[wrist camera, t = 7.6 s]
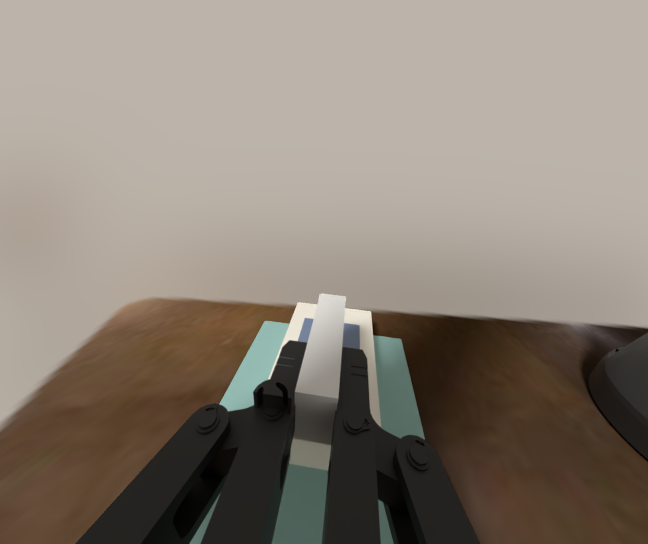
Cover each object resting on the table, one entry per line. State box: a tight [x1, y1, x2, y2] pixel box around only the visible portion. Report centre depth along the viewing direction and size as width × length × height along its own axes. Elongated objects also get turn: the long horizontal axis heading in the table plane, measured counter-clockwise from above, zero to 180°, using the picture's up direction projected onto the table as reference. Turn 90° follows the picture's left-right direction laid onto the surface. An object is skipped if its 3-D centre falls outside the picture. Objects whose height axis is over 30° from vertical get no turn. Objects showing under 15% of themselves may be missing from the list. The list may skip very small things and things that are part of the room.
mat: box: [190, 321, 425, 544], centre depth 17 cm, size 14×18×1 cm
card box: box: [268, 302, 381, 471], centre depth 19 cm, size 7×3×12 cm
